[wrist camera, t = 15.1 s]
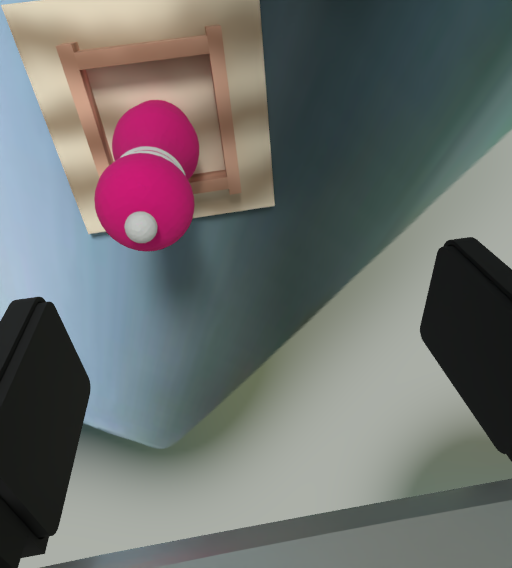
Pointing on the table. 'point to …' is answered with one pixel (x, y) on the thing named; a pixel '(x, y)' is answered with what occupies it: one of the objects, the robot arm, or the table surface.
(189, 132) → the pepper mill
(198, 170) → the board
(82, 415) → the robot arm
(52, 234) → the table surface
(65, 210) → the table surface
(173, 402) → the table surface
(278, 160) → the table surface
